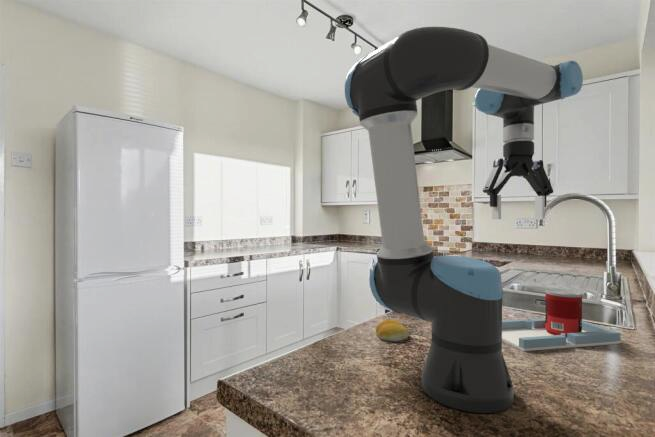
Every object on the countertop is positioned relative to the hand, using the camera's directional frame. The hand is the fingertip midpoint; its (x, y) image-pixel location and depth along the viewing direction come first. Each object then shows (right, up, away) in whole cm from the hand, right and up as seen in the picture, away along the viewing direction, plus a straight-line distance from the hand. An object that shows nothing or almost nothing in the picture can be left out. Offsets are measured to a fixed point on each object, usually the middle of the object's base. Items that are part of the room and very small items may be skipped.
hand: (518, 219), depth 96 cm
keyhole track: (+5, -31, -5) cm, 32 cm away
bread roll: (-36, -31, -4) cm, 48 cm away
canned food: (+9, -30, -4) cm, 32 cm away
